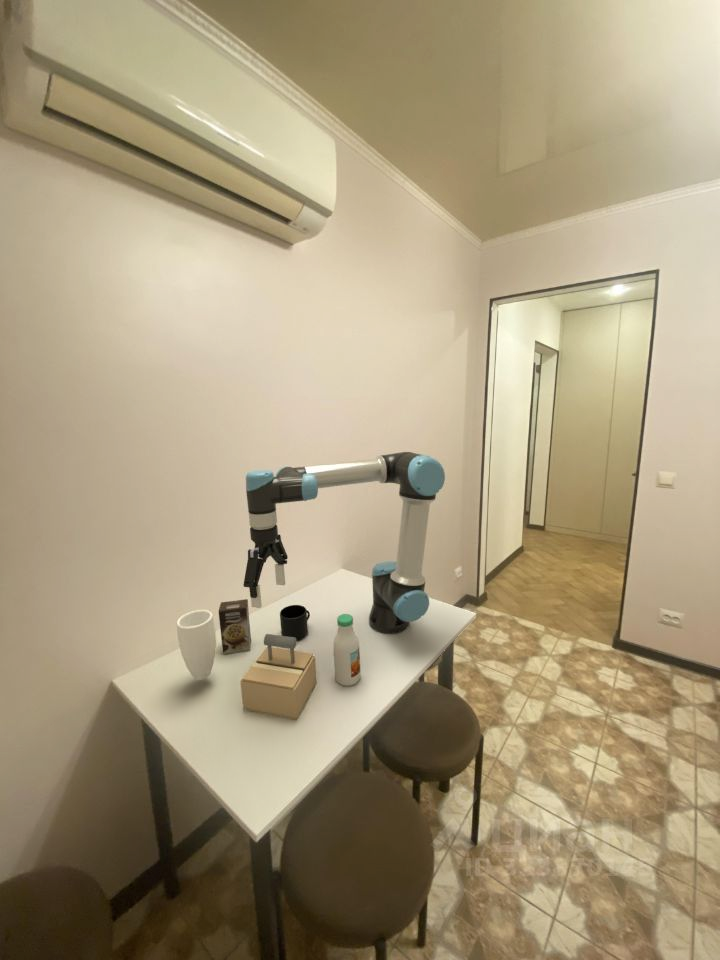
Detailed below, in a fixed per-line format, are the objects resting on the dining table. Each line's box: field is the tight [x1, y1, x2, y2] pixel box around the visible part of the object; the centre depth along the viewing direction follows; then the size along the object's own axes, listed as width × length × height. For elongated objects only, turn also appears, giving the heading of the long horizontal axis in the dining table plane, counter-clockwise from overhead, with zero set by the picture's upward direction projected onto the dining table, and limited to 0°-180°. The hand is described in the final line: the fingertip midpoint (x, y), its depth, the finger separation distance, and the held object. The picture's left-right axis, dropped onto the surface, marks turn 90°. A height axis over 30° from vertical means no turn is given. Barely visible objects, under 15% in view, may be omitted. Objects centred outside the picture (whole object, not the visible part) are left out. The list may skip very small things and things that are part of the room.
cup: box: [176, 609, 217, 681], centre depth 114 cm, size 10×10×22 cm
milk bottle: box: [333, 613, 361, 687], centre depth 114 cm, size 8×8×20 cm
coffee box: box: [218, 598, 252, 655], centre depth 131 cm, size 9×6×16 cm
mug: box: [279, 604, 311, 642], centre depth 139 cm, size 9×12×9 cm
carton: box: [239, 655, 318, 721], centre depth 109 cm, size 16×14×10 cm
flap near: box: [255, 633, 314, 670], centre depth 111 cm, size 15×7×8 cm, turn 75°
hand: (269, 595), depth 113 cm, fingers open, 13 cm apart
